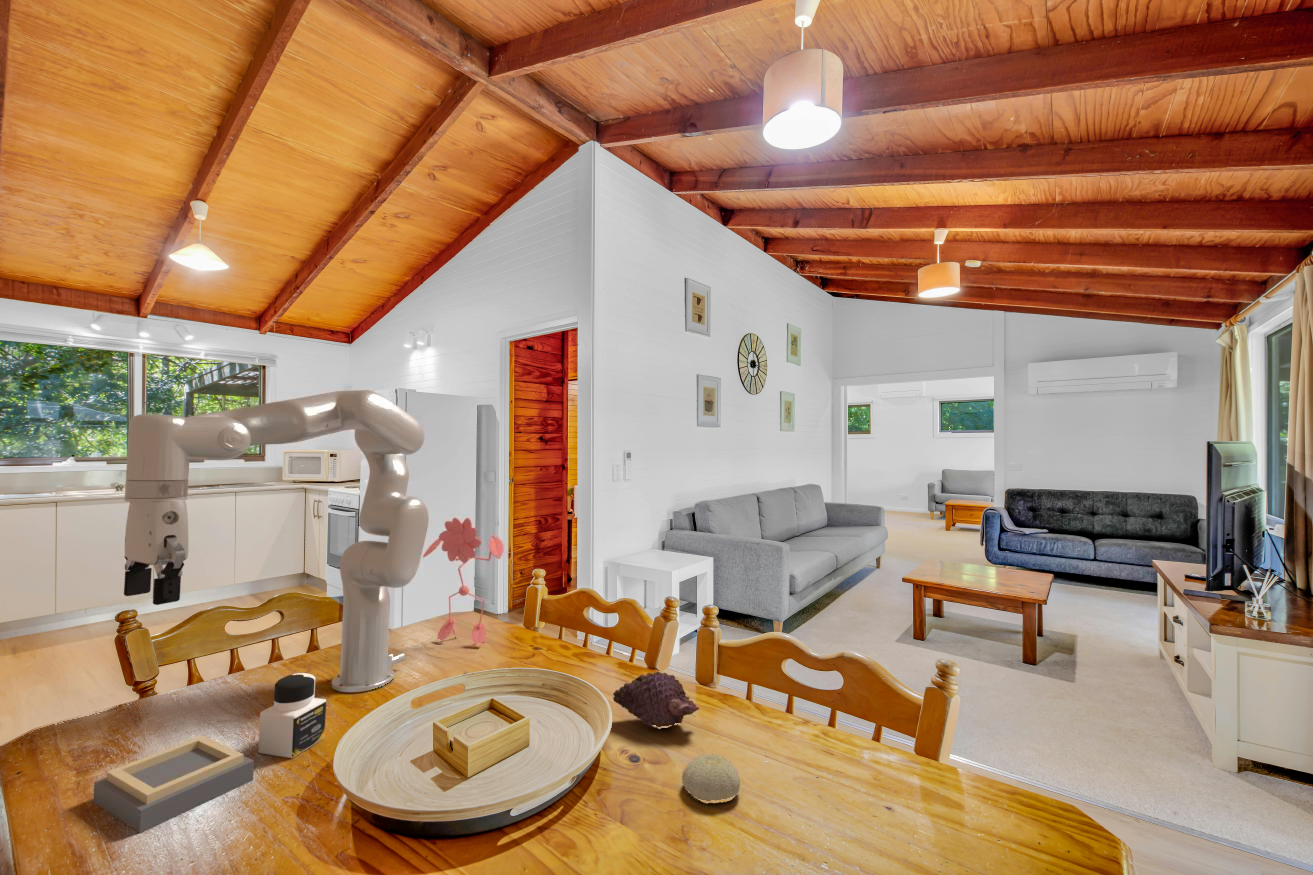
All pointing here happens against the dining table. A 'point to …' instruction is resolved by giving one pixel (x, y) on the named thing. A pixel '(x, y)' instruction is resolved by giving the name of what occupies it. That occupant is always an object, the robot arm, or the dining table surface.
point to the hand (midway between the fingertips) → (151, 598)
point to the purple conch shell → (655, 699)
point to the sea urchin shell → (711, 778)
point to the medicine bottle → (292, 718)
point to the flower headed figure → (462, 545)
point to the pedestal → (171, 782)
